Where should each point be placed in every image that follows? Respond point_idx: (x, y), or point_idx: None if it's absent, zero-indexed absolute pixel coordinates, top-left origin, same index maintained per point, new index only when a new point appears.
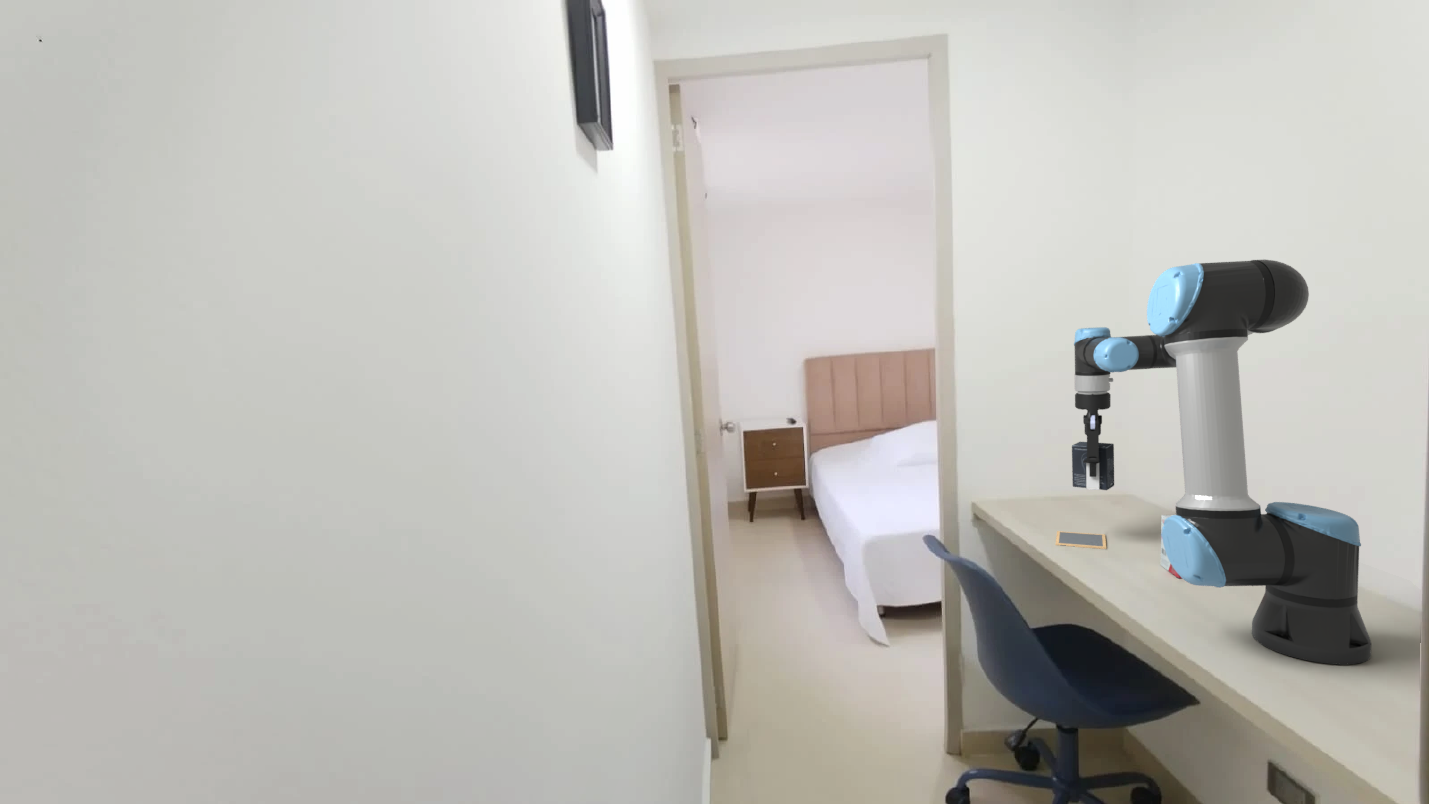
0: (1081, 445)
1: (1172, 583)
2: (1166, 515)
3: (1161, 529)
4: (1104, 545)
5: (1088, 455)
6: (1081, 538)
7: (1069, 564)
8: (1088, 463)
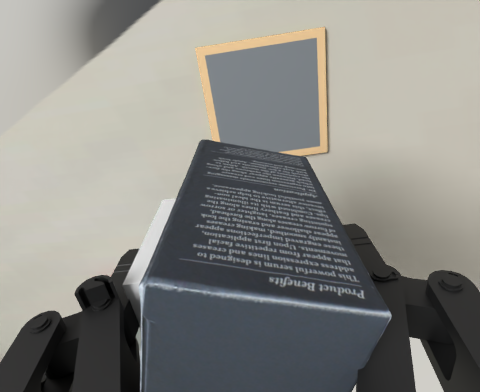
0: (149, 355)
1: (73, 276)
2: (140, 348)
3: None
4: None
5: (9, 362)
6: (270, 105)
7: (59, 109)
8: (128, 291)
